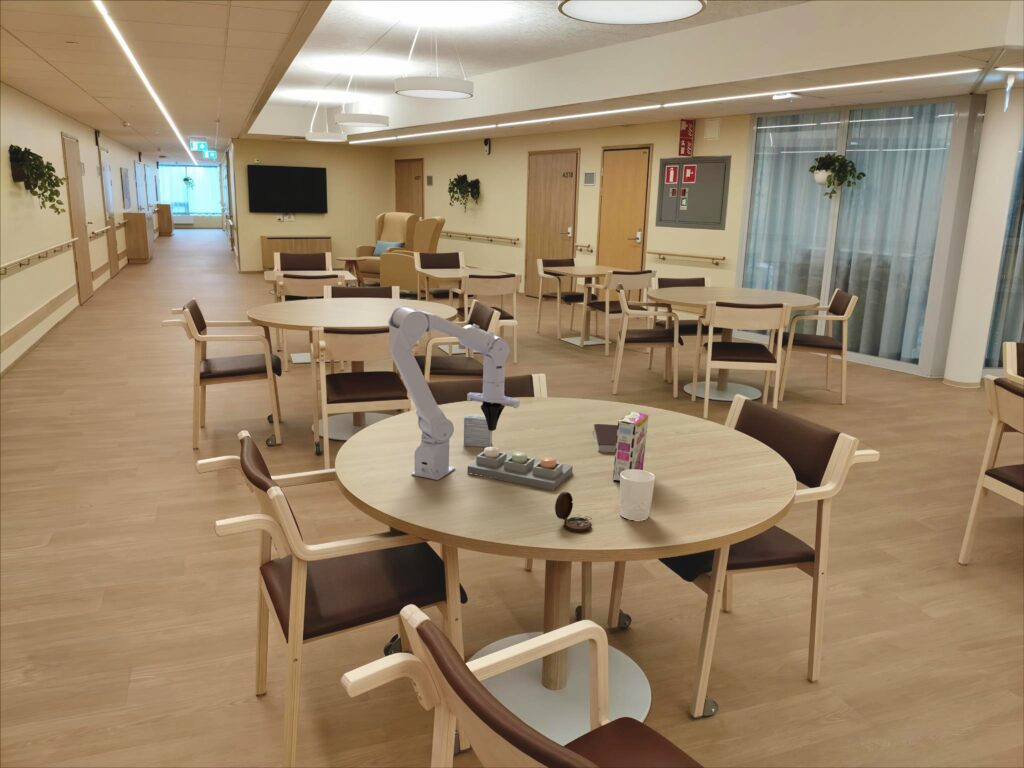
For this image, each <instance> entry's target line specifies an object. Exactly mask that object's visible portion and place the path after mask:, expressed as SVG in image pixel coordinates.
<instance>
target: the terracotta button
mask: <svg viewBox="0 0 1024 768" xmlns="http://www.w3.org/2000/svg"><path fill="white" fill-rule="evenodd" d="M539 460H540V467H541V468H546V469H551V470H553V469H555V468H556V463H557V459H556V458H554V457H551V456H545V457H544V456H543V457H541V458H540V459H539Z"/></svg>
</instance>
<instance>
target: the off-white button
mask: <svg viewBox="0 0 1024 768" xmlns="http://www.w3.org/2000/svg"><path fill="white" fill-rule="evenodd" d="M483 449H484V450H483V452H484V457H488V458H494V459H497V458H498V457H499V452H500V448H498V447H496V446H491V447H484V448H483Z"/></svg>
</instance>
